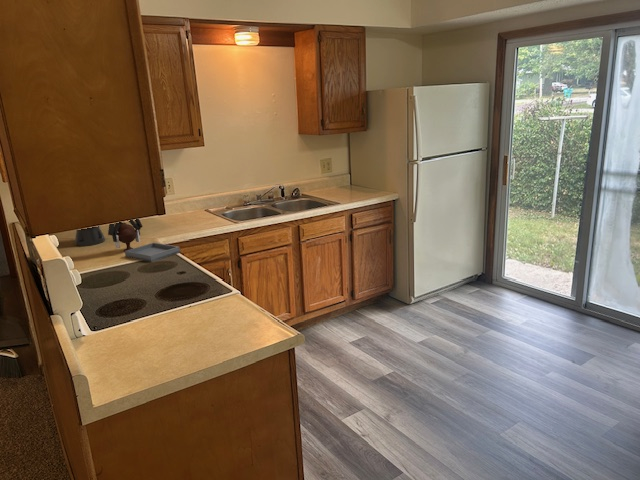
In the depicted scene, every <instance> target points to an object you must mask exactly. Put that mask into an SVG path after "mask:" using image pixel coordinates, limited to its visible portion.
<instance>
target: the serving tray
mask: <svg viewBox="0 0 640 480" xmlns="http://www.w3.org/2000/svg"><path fill="white" fill-rule="evenodd" d="M132 248H133V247H132ZM179 253H181V250H180V246H178V245H172V244H165V243H159V242H155V241H153V242H151V243H148V244H143V245H141V246H136V247H134V248H133V249H130V250H127V251H125V252H124V254H125V256H124V257H125V258H129V259H133V260H139V261H144V262H147V263H148V262H149V263H153V262H157V261H159V260H163V259H165V258H167V257H171V256H174V255H177V254H179Z"/></svg>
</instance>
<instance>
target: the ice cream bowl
mask: <svg viewBox="0 0 640 480" xmlns="http://www.w3.org/2000/svg"><path fill="white" fill-rule="evenodd" d="M137 234H138V231H136V229H135V228H134V227H133V226H132V225H131V224H127V223H126V222H122V223H121V224H120V227H119V229H118V232H117V235H118V238H119V243H120V242H121V243H123V244H125V245H126V248H124V249H123V252H124V253H125V251H127V250H130V249H133V247H131V243H132V242H133V241H135V238H136V237H137Z"/></svg>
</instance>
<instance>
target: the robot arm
mask: <svg viewBox="0 0 640 480" xmlns="http://www.w3.org/2000/svg"><path fill="white" fill-rule="evenodd" d="M121 223H123V222H119V223H116V222H115V223H114V224H109V225H108V230H107V231H108V232H107V235H108V236H111V237H112V241H113V242H114V246H115V248H117V249H120V248H121V245H120V241H119V238H118V235H117V233H118V229H119V227H120V224H121ZM128 223H129V225H131V226H133V227H134V229H135V230H136V231H138V234H137V237H136V238H135V239H134V241H135V243H141V238H140V236H141V231H140V230H142V229H141V228H143V223H142V222H141V221H140V219H136V220H134V219H132V220H130V221H128ZM75 231H76V232H75V238H74V244H75V246H76V247H77V246H78V247H86V246H87V247H88V246H93V245H99V244H101V243H103V242H105V241H106V238H105V235H104V233H103V232H102V230H101V228H100V225H99V226H98V227H92V228H87V229H81V230H75Z"/></svg>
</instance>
